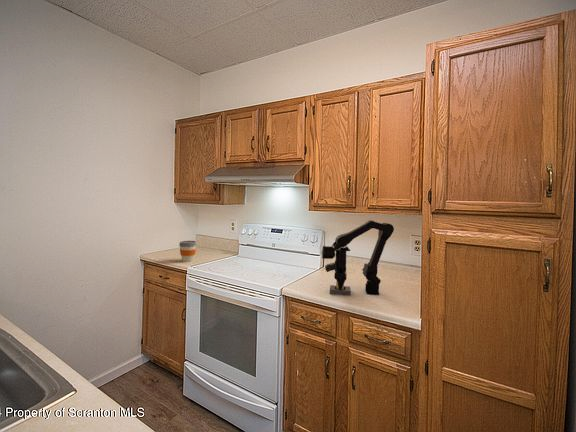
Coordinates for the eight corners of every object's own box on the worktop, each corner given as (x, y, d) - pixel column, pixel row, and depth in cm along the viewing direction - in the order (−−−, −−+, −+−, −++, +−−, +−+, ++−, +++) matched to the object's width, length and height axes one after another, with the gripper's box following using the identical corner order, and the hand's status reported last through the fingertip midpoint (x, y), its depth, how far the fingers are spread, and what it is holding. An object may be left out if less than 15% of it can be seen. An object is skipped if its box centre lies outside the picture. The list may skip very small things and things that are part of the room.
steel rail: (350, 291, 160) (350, 286, 160) (350, 295, 153) (350, 291, 153) (330, 289, 163) (330, 285, 162) (329, 294, 155) (329, 289, 155)
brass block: (343, 291, 159) (344, 279, 159) (343, 294, 155) (344, 281, 155) (336, 291, 160) (336, 278, 160) (336, 293, 156) (336, 280, 156)
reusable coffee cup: (183, 263, 219) (183, 243, 217) (177, 260, 228) (176, 241, 227) (199, 261, 227) (198, 242, 226) (192, 258, 236) (192, 240, 235)
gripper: (326, 254, 167) (326, 280, 168) (324, 261, 149) (324, 291, 150) (346, 255, 165) (345, 282, 166) (346, 263, 147) (346, 293, 148)
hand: (340, 286), depth 158 cm, fingers open, 9 cm apart
